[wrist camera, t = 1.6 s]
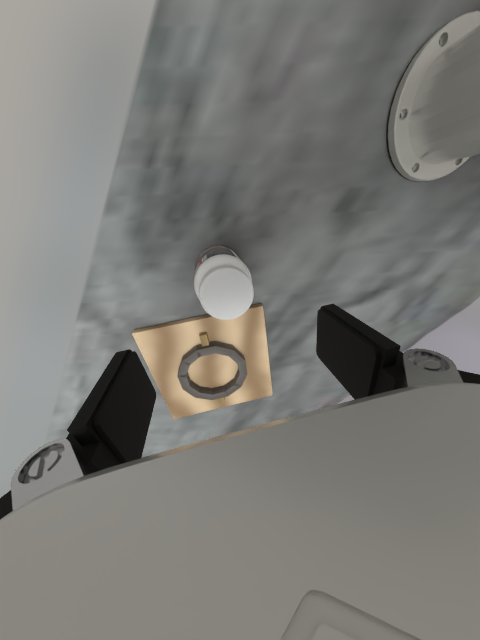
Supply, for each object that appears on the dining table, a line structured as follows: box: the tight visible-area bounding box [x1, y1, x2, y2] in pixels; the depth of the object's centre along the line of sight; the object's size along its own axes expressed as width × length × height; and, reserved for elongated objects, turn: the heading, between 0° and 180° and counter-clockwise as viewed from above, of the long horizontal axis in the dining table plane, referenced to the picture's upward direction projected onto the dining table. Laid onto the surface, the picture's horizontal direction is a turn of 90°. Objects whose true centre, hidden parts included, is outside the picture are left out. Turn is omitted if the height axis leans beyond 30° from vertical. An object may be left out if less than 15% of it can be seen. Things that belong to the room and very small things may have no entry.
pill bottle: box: [194, 246, 254, 320], centre depth 21 cm, size 6×6×10 cm
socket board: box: [132, 303, 272, 419], centre depth 31 cm, size 18×18×2 cm
